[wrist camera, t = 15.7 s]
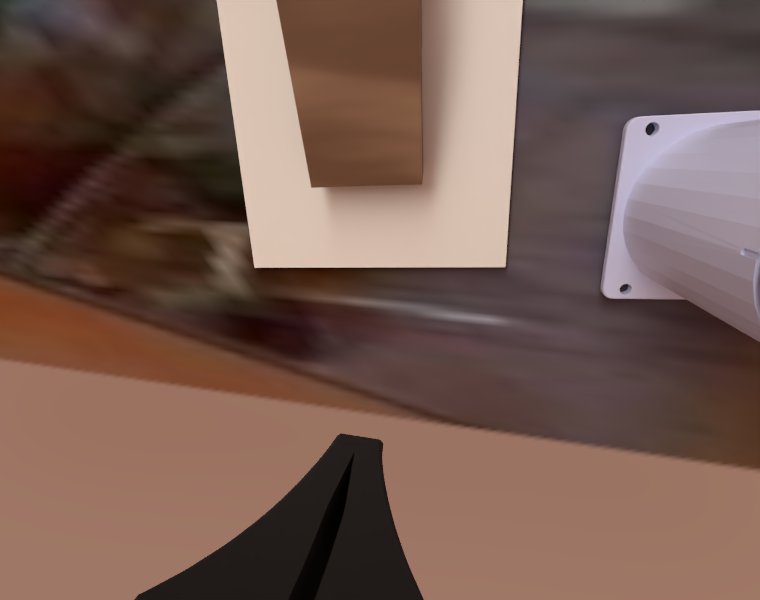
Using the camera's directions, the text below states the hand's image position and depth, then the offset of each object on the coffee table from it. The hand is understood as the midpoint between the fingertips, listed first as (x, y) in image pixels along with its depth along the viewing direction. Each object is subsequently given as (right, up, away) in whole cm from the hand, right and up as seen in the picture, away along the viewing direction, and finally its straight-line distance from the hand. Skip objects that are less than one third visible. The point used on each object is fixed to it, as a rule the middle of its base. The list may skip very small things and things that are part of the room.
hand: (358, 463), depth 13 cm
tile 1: (0, +11, +6) cm, 12 cm away
